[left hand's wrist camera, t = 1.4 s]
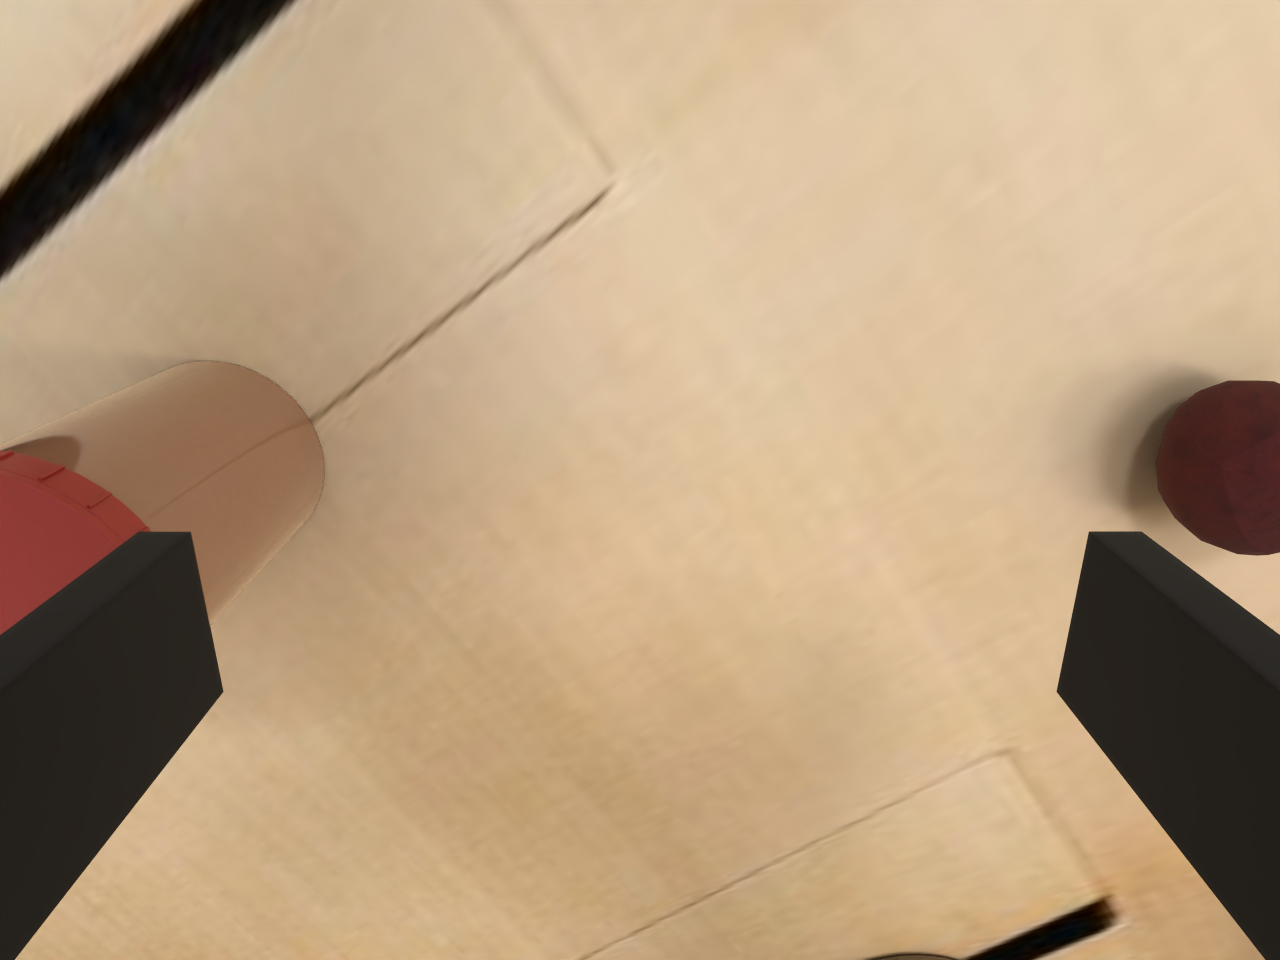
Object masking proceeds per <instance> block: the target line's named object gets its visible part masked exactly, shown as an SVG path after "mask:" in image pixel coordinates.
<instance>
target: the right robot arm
mask: <svg viewBox="0 0 1280 960" xmlns="http://www.w3.org/2000/svg"><path fill="white" fill-rule="evenodd" d="M879 960H952V959H947V958H942V957H935V956H923V955H908V956H896V957H889V958H883V959H879Z"/></svg>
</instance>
